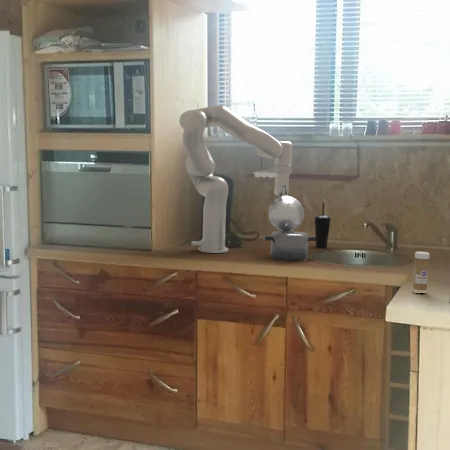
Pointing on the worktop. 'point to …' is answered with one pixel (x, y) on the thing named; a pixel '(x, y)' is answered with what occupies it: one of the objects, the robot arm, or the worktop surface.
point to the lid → (286, 213)
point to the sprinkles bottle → (421, 270)
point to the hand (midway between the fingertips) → (281, 211)
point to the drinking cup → (322, 229)
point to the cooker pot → (289, 245)
